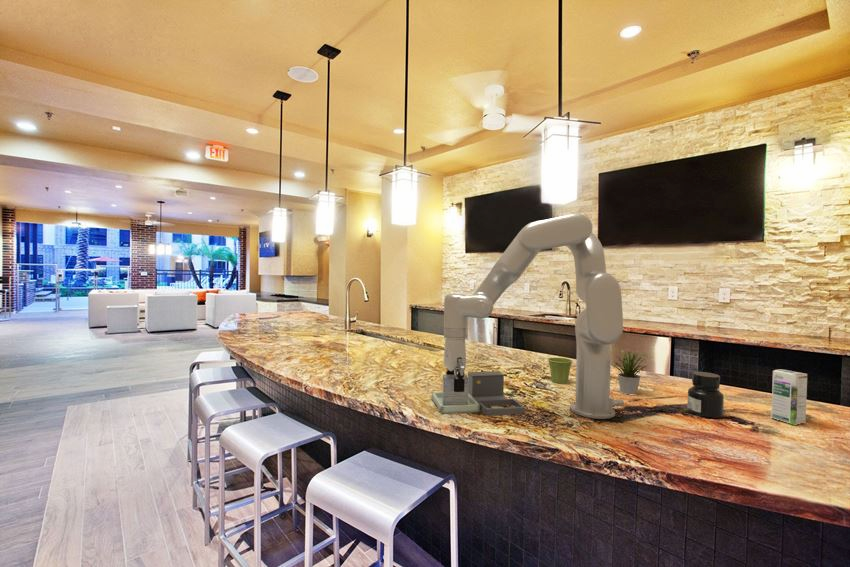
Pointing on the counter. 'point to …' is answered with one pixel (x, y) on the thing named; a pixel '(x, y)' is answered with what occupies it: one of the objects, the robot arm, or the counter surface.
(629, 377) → the house plant
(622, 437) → the counter surface
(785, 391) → the syrup box
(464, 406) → the tray
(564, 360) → the plant pot
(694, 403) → the ink bottle
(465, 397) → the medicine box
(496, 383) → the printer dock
